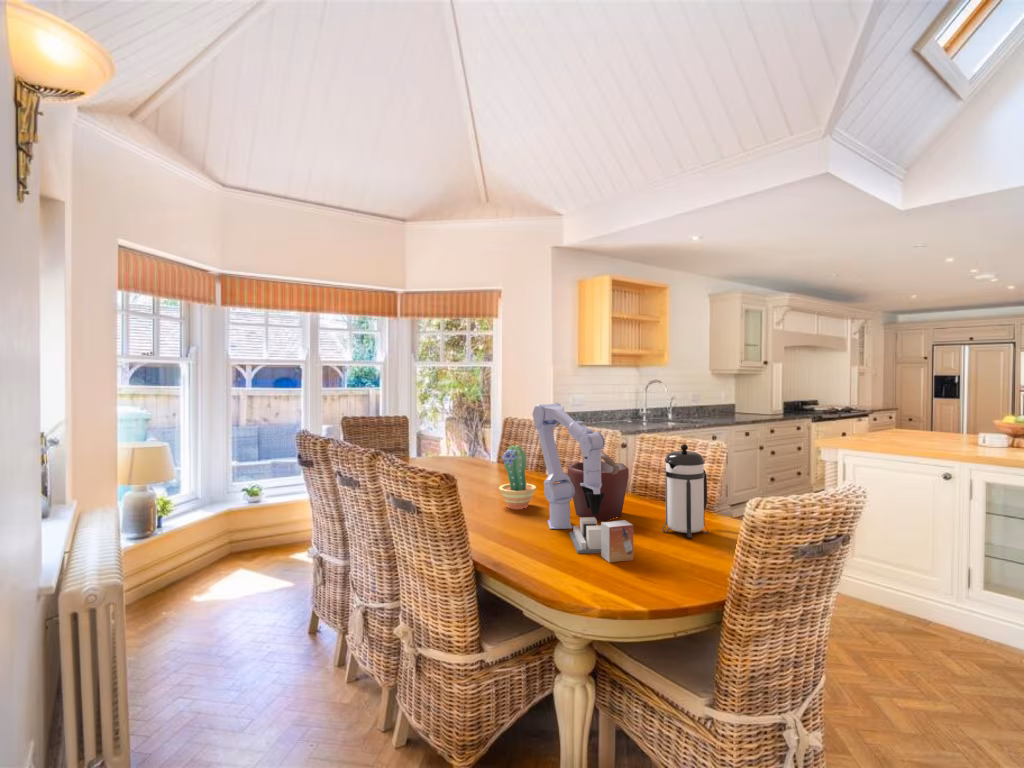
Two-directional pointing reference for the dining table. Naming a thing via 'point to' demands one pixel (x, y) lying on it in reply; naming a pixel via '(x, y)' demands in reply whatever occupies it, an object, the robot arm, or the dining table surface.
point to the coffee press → (685, 492)
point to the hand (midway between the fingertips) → (592, 510)
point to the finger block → (586, 524)
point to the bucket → (612, 487)
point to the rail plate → (587, 539)
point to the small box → (617, 541)
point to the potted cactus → (516, 479)
